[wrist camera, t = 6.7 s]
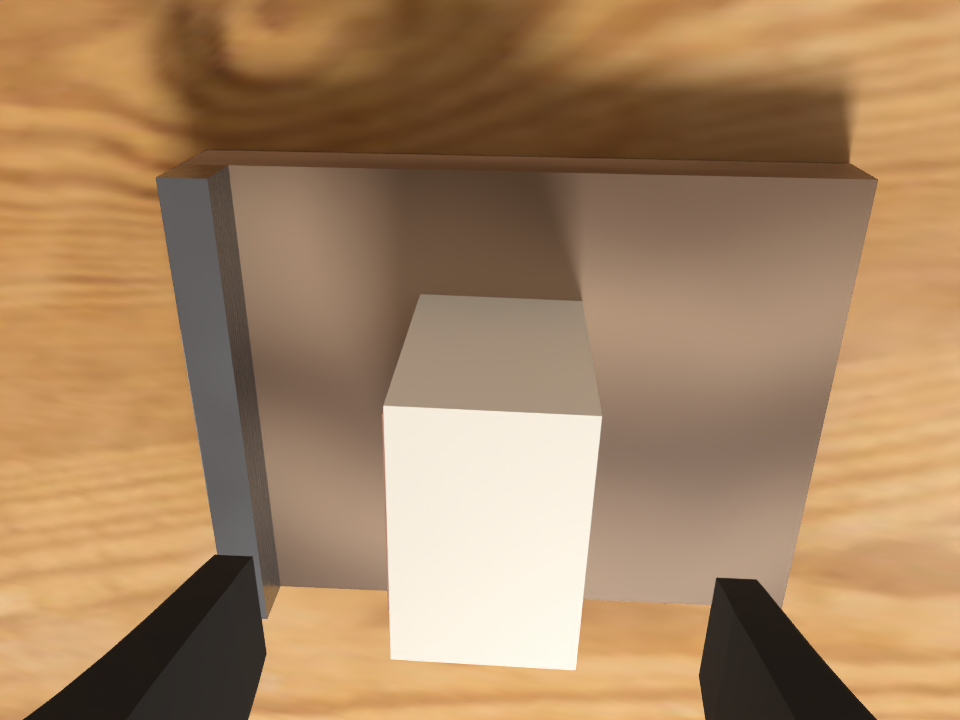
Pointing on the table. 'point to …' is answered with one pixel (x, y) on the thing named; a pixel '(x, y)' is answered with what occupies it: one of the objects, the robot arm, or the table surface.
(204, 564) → the robot arm
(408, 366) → the carton
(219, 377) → the rail
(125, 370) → the table surface
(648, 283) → the shelf board
